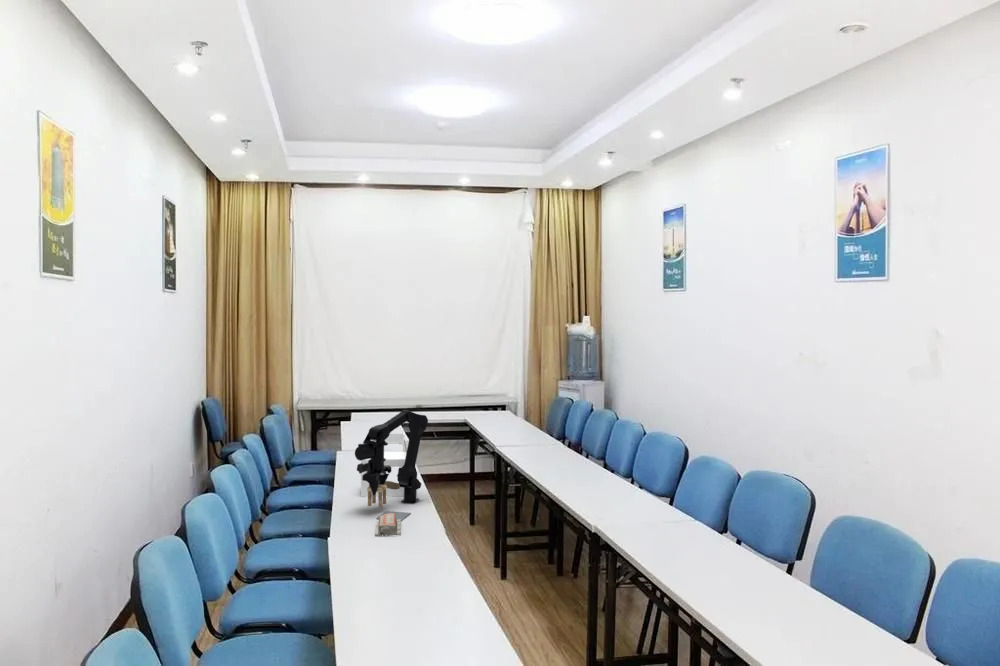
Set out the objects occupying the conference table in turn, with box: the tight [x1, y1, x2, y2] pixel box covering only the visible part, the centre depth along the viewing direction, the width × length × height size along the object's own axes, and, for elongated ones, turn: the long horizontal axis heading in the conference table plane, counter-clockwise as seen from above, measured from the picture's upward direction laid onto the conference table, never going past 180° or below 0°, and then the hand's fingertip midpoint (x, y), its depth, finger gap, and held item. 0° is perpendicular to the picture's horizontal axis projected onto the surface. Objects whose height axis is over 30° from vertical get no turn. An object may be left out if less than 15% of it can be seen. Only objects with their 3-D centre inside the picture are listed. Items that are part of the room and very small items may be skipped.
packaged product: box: [374, 513, 402, 537], centre depth 290 cm, size 18×5×10 cm
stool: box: [367, 485, 387, 508], centre depth 315 cm, size 6×6×8 cm
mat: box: [376, 510, 411, 522], centre depth 307 cm, size 11×11×1 cm
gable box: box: [360, 433, 409, 497], centre depth 345 cm, size 22×13×28 cm, turn 94°
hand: (377, 492), depth 315 cm, fingers closed on stool, 6 cm apart
